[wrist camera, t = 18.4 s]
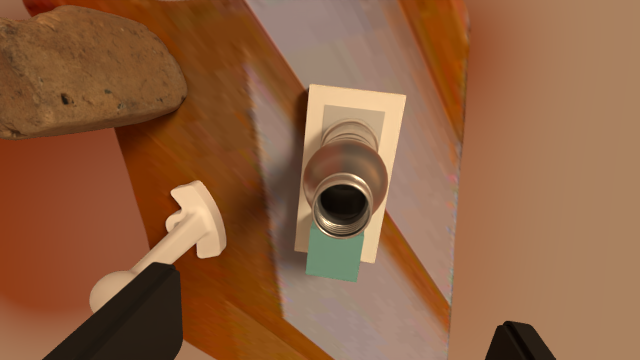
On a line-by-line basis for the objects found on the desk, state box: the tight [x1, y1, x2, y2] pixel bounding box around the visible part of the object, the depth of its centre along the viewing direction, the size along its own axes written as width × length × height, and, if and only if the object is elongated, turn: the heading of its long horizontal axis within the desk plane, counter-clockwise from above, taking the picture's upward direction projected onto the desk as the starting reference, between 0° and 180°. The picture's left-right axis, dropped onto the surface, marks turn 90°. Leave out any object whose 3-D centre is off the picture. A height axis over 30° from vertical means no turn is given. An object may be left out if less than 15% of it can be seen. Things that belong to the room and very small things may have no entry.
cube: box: [306, 220, 364, 282], centre depth 38 cm, size 6×6×6 cm
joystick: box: [89, 181, 226, 313], centre depth 37 cm, size 11×8×20 cm
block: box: [0, 5, 187, 140], centre depth 30 cm, size 11×8×20 cm
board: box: [294, 84, 406, 263], centre depth 40 cm, size 22×11×3 cm, turn 174°
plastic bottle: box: [303, 118, 388, 239], centre depth 27 cm, size 6×7×20 cm
